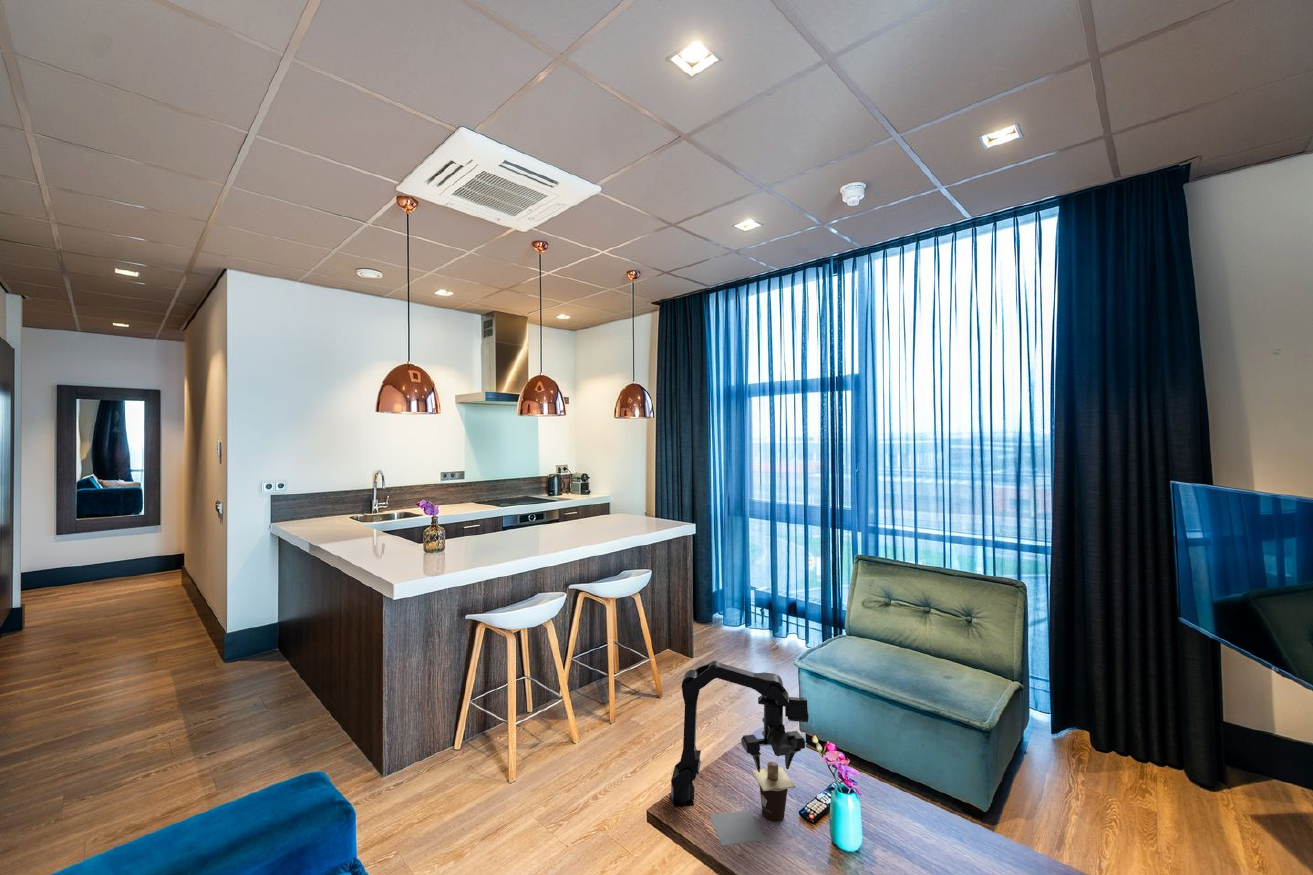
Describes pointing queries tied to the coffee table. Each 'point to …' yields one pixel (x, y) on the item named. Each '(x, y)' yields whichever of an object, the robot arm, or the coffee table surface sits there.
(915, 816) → the coffee table surface
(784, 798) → the coffee mug
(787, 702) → the robot arm
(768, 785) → the lid
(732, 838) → the mat
